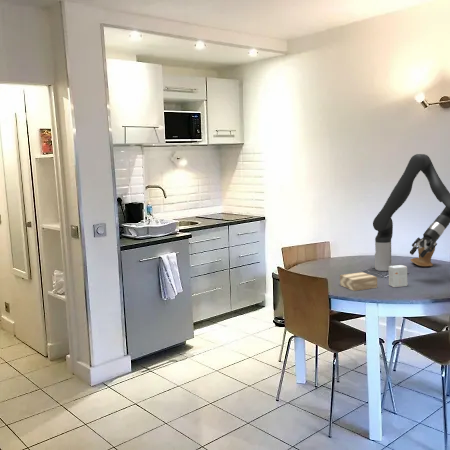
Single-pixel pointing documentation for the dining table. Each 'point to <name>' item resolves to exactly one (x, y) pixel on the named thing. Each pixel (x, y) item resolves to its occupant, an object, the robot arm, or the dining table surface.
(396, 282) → the small box
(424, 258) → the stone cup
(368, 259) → the dining table surface
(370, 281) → the oak block
